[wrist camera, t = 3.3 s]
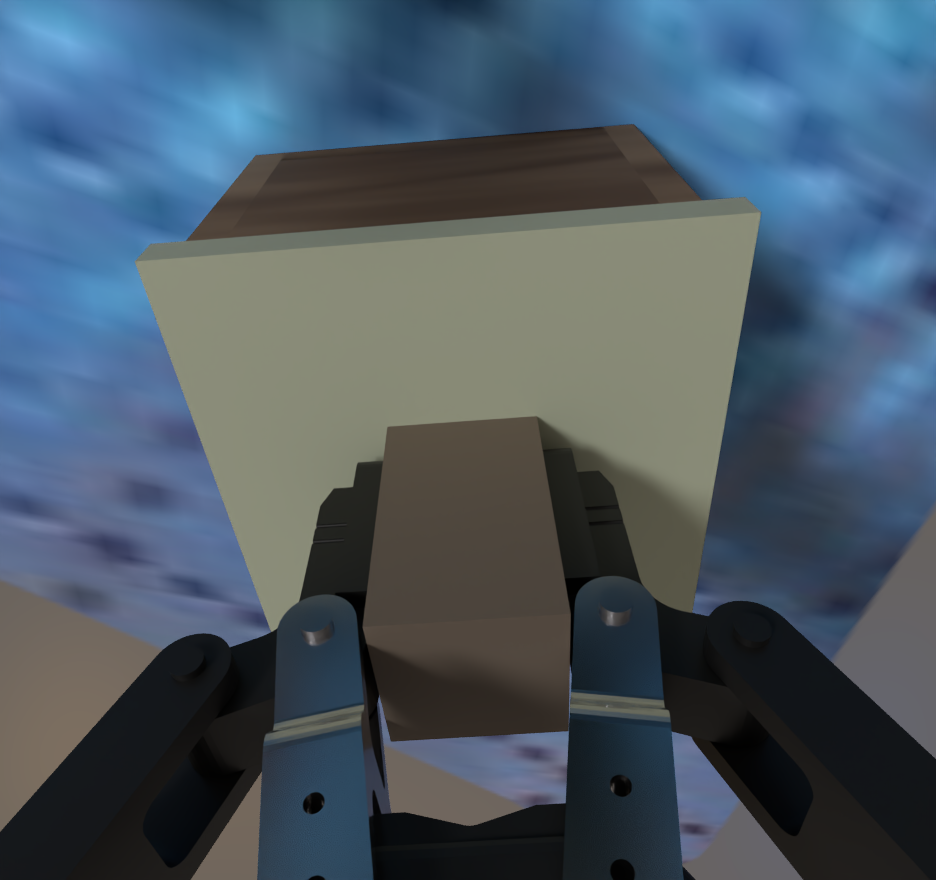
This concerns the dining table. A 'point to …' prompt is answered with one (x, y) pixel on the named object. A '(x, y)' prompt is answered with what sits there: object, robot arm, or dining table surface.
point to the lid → (464, 421)
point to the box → (445, 182)
